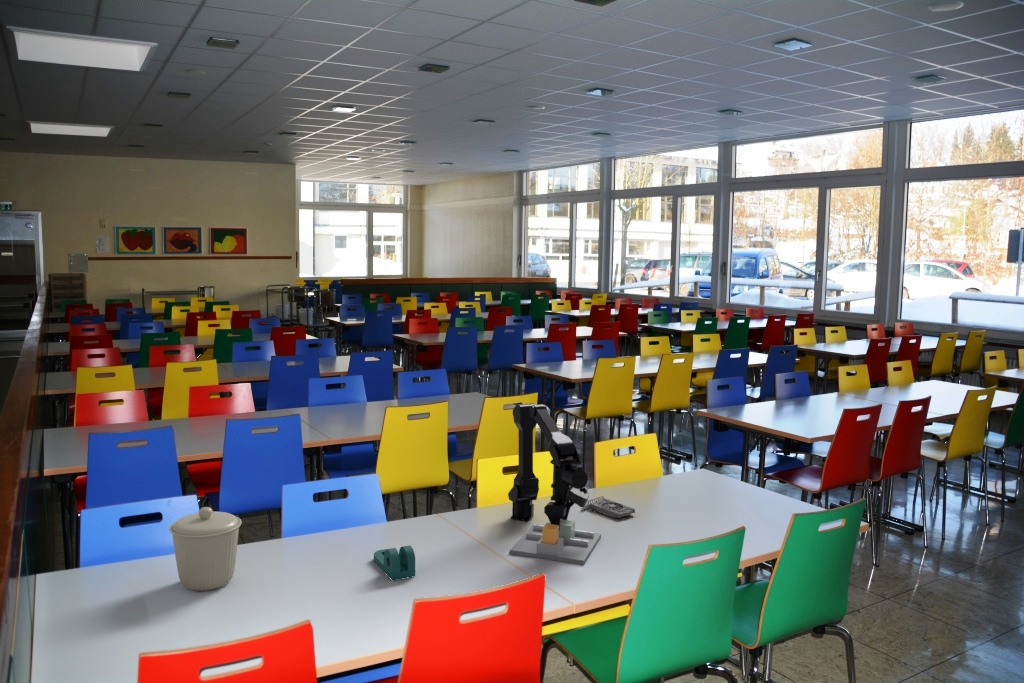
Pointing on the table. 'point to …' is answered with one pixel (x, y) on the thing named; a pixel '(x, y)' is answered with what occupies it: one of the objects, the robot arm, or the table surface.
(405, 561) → the bracket
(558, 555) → the rail board
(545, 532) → the button
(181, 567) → the canister
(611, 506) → the graphics card
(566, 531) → the block
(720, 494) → the table surface
